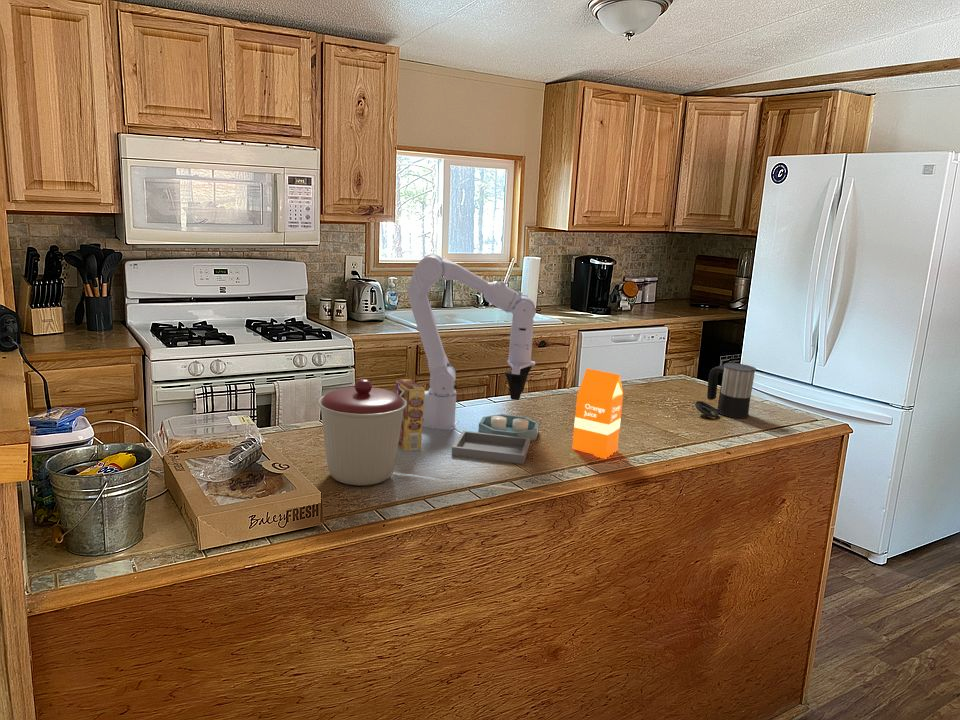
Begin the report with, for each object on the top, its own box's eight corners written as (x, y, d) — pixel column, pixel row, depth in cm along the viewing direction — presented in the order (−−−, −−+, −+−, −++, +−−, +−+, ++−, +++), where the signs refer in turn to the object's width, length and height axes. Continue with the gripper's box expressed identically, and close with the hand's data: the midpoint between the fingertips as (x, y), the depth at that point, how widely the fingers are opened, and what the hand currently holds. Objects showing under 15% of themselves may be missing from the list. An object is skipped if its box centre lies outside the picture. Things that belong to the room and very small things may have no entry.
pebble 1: (489, 433, 186) (490, 419, 185) (490, 428, 190) (491, 415, 189) (505, 434, 186) (506, 421, 185) (506, 429, 189) (507, 416, 189)
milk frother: (752, 414, 221) (759, 366, 217) (739, 426, 208) (746, 375, 204) (705, 404, 228) (711, 358, 225) (689, 415, 215) (696, 366, 212)
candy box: (422, 451, 172) (425, 388, 168) (405, 452, 170) (408, 389, 166) (409, 439, 179) (411, 378, 176) (392, 440, 177) (394, 379, 174)
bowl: (475, 440, 181) (475, 428, 181) (484, 423, 196) (485, 412, 195) (534, 446, 179) (535, 435, 179) (539, 429, 193) (540, 418, 193)
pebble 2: (510, 435, 185) (511, 422, 184) (513, 430, 189) (513, 417, 188) (526, 437, 185) (527, 423, 184) (528, 432, 188) (529, 419, 188)
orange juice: (605, 459, 174) (613, 377, 169) (571, 450, 178) (578, 370, 174) (617, 450, 180) (626, 372, 176) (584, 442, 185) (592, 365, 180)
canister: (408, 492, 147) (413, 391, 143) (316, 495, 143) (317, 391, 139) (399, 460, 164) (403, 369, 160) (316, 462, 161) (318, 368, 156)
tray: (451, 457, 169) (452, 447, 168) (462, 440, 181) (462, 430, 180) (523, 466, 166) (524, 455, 165) (529, 448, 178) (530, 438, 178)
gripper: (533, 350, 178) (529, 404, 181) (539, 340, 192) (535, 390, 195) (504, 348, 180) (501, 401, 183) (512, 337, 194) (509, 387, 197)
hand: (516, 395), depth 189 cm, fingers open, 7 cm apart
